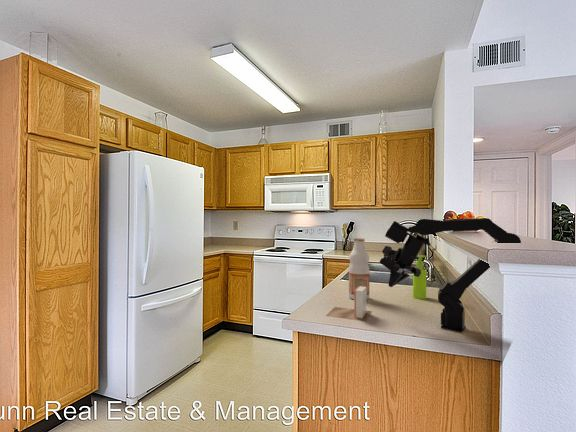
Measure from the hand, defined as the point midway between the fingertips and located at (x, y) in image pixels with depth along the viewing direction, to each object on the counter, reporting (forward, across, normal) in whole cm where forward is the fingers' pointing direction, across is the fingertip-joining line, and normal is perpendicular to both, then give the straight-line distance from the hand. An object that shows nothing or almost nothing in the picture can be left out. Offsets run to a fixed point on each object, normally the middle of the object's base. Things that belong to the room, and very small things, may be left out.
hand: (389, 286), depth 117 cm
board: (+18, +5, -6) cm, 19 cm away
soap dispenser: (+7, -41, -8) cm, 43 cm away
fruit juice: (+19, -18, -21) cm, 33 cm away
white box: (+15, +3, -3) cm, 16 cm away
